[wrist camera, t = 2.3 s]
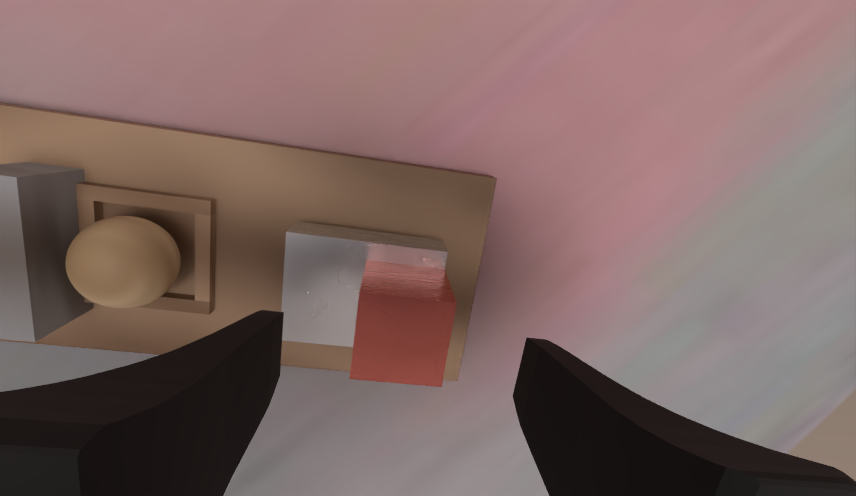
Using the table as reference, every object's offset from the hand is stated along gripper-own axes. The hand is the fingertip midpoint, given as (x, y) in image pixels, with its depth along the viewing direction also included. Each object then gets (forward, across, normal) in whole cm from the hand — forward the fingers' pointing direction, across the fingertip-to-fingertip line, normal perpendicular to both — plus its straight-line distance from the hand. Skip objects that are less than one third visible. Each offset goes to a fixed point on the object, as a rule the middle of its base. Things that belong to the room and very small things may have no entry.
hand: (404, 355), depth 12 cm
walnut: (+7, +11, 0) cm, 13 cm away
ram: (+6, +2, 0) cm, 6 cm away
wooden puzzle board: (+8, +8, 0) cm, 11 cm away
